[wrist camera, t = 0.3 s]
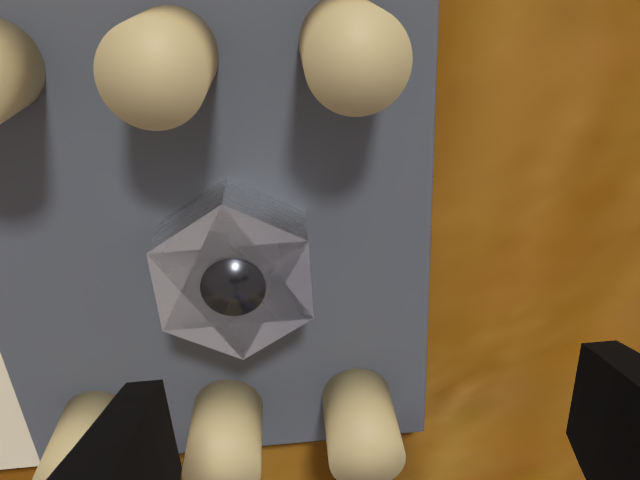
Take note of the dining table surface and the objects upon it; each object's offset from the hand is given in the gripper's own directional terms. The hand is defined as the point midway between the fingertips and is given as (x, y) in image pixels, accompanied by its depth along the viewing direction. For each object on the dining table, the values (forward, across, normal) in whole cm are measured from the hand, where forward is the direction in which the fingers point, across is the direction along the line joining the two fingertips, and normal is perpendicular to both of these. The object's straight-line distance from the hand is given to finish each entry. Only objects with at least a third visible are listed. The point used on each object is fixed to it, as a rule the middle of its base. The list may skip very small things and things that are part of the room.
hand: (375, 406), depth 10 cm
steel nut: (+8, +3, +1) cm, 9 cm away
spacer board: (+9, +8, +1) cm, 12 cm away
